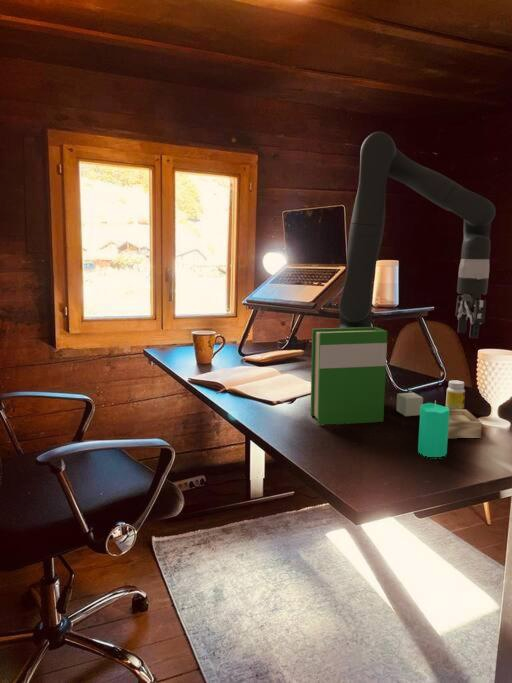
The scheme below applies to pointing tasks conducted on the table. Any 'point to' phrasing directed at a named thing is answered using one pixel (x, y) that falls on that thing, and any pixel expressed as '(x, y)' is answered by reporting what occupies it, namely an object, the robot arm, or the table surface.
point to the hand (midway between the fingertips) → (467, 335)
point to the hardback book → (348, 375)
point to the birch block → (463, 424)
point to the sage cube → (409, 404)
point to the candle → (433, 430)
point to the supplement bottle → (455, 395)
